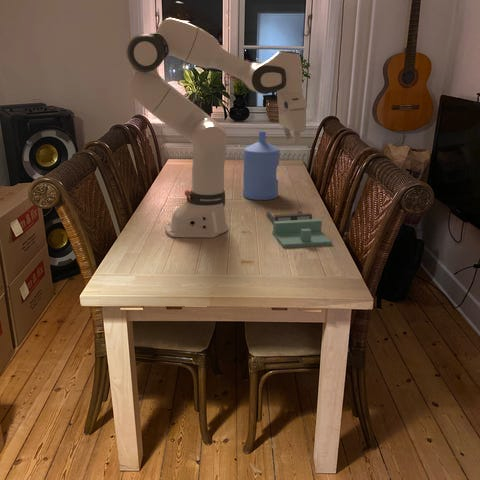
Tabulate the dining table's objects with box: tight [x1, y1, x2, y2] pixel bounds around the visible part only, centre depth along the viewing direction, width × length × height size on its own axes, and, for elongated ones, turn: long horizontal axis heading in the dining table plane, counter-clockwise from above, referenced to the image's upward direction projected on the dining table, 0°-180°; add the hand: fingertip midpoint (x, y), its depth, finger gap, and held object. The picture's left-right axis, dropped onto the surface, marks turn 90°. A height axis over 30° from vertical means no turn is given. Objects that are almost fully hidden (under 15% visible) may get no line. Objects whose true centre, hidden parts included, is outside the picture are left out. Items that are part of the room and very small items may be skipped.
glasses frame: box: [265, 210, 313, 225], centre depth 193 cm, size 14×13×4 cm
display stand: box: [271, 218, 333, 249], centre depth 174 cm, size 17×14×5 cm
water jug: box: [242, 131, 281, 201], centre depth 220 cm, size 16×16×28 cm
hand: (292, 141), depth 178 cm, fingers open, 8 cm apart
